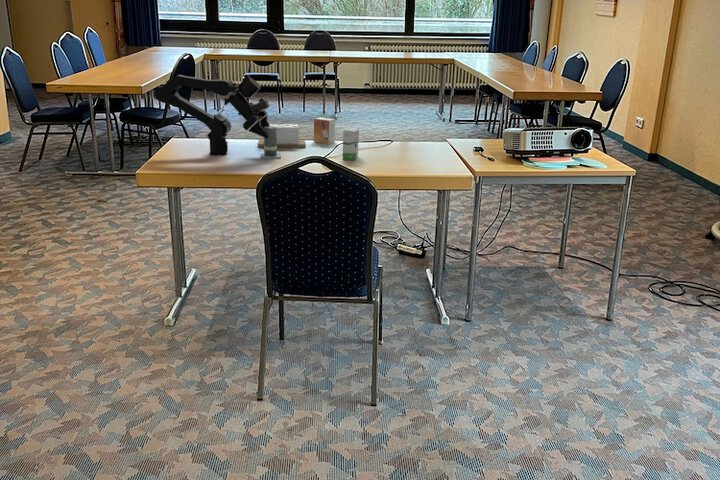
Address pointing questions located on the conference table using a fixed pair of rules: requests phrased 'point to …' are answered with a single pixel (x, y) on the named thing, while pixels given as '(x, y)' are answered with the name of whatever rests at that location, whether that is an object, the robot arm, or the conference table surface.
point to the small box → (324, 130)
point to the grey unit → (286, 136)
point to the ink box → (350, 143)
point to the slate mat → (271, 156)
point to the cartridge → (270, 141)
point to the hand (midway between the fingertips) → (270, 135)
